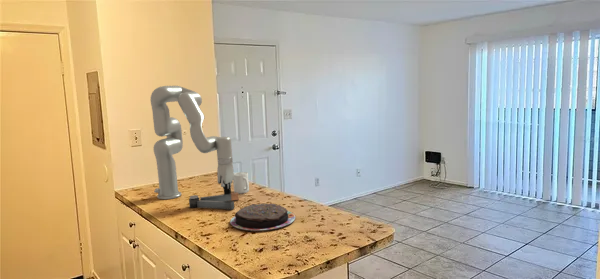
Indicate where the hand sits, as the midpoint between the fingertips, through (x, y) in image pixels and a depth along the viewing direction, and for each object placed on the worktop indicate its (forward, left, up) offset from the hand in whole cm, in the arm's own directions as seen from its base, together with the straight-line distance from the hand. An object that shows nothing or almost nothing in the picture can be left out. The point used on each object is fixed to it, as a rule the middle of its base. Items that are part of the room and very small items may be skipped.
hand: (227, 195), depth 211 cm
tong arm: (-3, -9, -1) cm, 9 cm away
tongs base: (-1, -15, -2) cm, 15 cm away
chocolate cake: (+31, -29, -2) cm, 43 cm away
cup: (+2, +13, -2) cm, 13 cm away
